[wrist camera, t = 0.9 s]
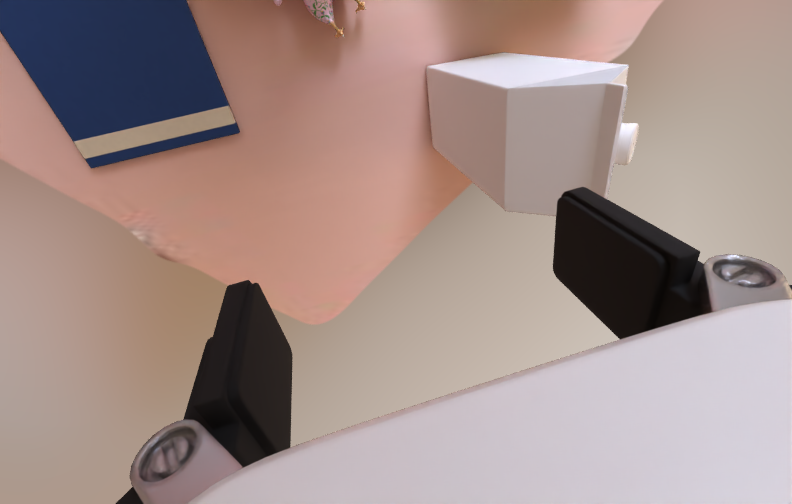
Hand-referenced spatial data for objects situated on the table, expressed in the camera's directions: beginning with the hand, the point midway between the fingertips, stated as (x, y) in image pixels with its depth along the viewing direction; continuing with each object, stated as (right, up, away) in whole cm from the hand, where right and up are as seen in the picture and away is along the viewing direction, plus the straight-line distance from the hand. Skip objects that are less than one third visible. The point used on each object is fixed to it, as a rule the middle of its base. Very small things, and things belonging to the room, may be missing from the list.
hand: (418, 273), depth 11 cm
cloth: (-21, +17, +14) cm, 31 cm away
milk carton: (+6, +15, +23) cm, 28 cm away
